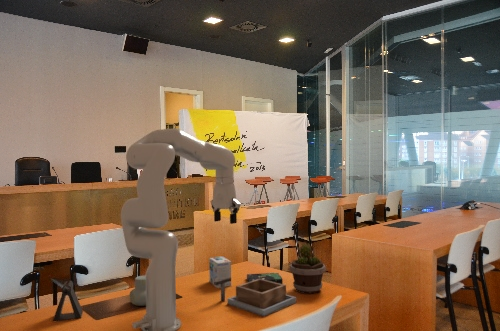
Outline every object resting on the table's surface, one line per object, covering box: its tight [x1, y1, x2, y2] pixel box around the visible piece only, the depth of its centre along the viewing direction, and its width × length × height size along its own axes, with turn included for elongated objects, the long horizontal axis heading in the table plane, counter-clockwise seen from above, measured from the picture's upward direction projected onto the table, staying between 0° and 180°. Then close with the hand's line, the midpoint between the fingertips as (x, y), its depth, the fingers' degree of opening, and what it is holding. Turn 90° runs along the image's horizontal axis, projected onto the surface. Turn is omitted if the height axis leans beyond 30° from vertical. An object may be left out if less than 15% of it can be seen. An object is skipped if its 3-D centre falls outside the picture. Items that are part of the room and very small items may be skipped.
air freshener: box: [129, 274, 146, 307], centre depth 155 cm, size 11×8×10 cm
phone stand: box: [52, 280, 84, 322], centre depth 142 cm, size 9×6×12 cm, turn 106°
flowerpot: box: [289, 240, 327, 295], centre depth 168 cm, size 14×15×20 cm
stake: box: [213, 277, 232, 303], centre depth 156 cm, size 8×2×8 cm, turn 136°
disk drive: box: [246, 272, 284, 285], centre depth 181 cm, size 10×3×15 cm
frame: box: [235, 278, 287, 309], centre depth 153 cm, size 13×13×6 cm
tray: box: [226, 294, 297, 317], centre depth 153 cm, size 18×18×2 cm
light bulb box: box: [208, 255, 232, 289], centre depth 178 cm, size 11×7×11 cm, turn 25°
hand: (225, 222), depth 169 cm, fingers open, 9 cm apart
